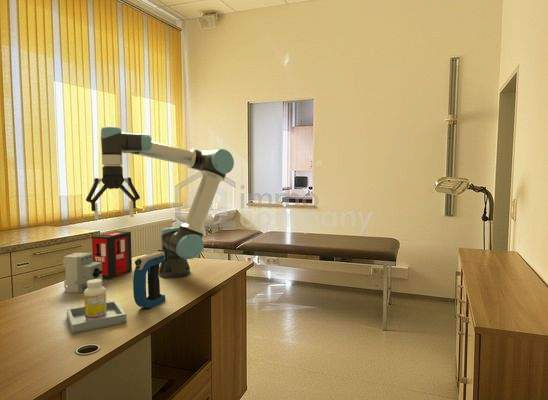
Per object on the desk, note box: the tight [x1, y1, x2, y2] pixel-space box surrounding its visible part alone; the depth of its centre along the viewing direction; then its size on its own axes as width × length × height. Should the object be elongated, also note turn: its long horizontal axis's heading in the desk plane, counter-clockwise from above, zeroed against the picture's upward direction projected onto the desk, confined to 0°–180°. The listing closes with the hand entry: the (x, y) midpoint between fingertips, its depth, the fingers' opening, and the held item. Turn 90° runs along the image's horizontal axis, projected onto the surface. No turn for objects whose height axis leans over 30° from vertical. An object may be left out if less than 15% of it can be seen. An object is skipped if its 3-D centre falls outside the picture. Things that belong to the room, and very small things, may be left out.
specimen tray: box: [66, 299, 128, 335], centre depth 128 cm, size 16×16×3 cm
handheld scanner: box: [132, 249, 168, 309], centre depth 141 cm, size 5×16×20 cm, turn 161°
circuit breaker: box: [62, 252, 103, 294], centre depth 159 cm, size 8×14×15 cm, turn 78°
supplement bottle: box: [83, 279, 107, 321], centre depth 127 cm, size 7×7×13 cm
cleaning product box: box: [91, 230, 133, 281], centre depth 183 cm, size 16×9×20 cm, turn 164°
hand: (114, 218), depth 153 cm, fingers open, 13 cm apart
